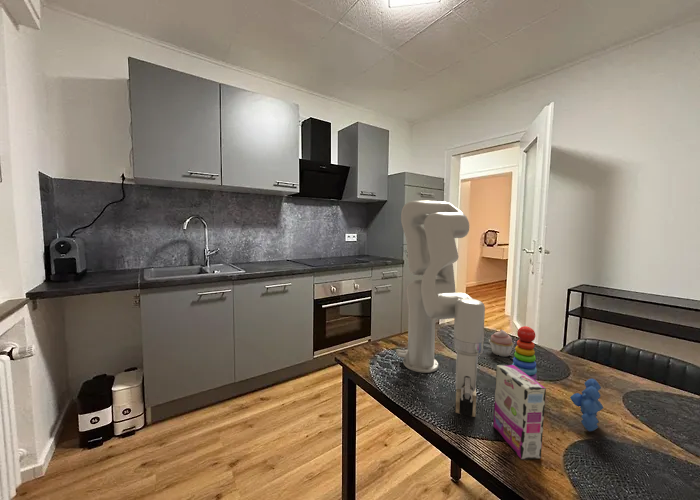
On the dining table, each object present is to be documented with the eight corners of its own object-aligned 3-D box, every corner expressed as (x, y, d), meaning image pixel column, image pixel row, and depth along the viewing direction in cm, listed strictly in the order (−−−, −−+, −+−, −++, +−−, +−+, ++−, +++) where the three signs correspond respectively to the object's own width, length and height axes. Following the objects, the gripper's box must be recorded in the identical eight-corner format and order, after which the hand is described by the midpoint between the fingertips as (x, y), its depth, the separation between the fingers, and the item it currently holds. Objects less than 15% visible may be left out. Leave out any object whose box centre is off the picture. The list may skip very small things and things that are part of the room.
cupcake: (492, 346, 124) (493, 323, 123) (516, 353, 117) (518, 329, 116) (484, 353, 117) (485, 329, 116) (509, 361, 110) (511, 335, 110)
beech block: (455, 412, 79) (456, 392, 79) (455, 402, 84) (456, 382, 84) (475, 417, 78) (476, 395, 77) (474, 406, 82) (475, 386, 82)
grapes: (570, 408, 82) (573, 367, 81) (601, 418, 77) (605, 375, 76) (566, 429, 73) (569, 384, 72) (601, 442, 69) (605, 394, 68)
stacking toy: (541, 390, 90) (545, 332, 89) (513, 387, 92) (517, 330, 90) (531, 377, 98) (534, 324, 97) (505, 375, 100) (508, 322, 98)
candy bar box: (542, 459, 64) (547, 388, 62) (521, 460, 63) (525, 389, 62) (510, 424, 75) (514, 363, 73) (492, 425, 74) (495, 364, 73)
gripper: (454, 331, 89) (452, 385, 90) (452, 355, 73) (450, 419, 74) (480, 335, 86) (478, 390, 87) (485, 360, 70) (482, 427, 71)
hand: (465, 403), depth 81 cm, fingers open, 9 cm apart
